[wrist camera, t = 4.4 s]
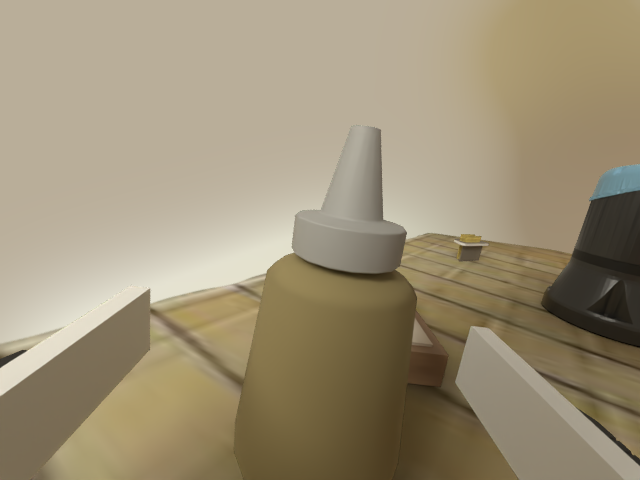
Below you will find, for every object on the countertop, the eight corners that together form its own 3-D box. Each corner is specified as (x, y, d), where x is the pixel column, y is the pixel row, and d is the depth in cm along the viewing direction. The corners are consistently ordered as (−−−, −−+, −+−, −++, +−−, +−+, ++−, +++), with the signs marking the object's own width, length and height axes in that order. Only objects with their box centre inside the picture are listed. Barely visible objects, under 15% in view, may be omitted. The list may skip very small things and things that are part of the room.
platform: (421, 254, 74) (427, 228, 72) (465, 253, 83) (471, 230, 82) (465, 271, 64) (473, 242, 62) (509, 267, 73) (517, 241, 72)
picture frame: (396, 310, 39) (401, 287, 38) (440, 386, 25) (449, 352, 24) (289, 297, 38) (292, 273, 37) (274, 368, 24) (278, 332, 24)
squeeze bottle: (366, 426, 20) (425, 149, 16) (406, 594, 12) (541, 131, 8) (245, 417, 19) (273, 126, 15) (203, 587, 11) (239, 82, 7)
